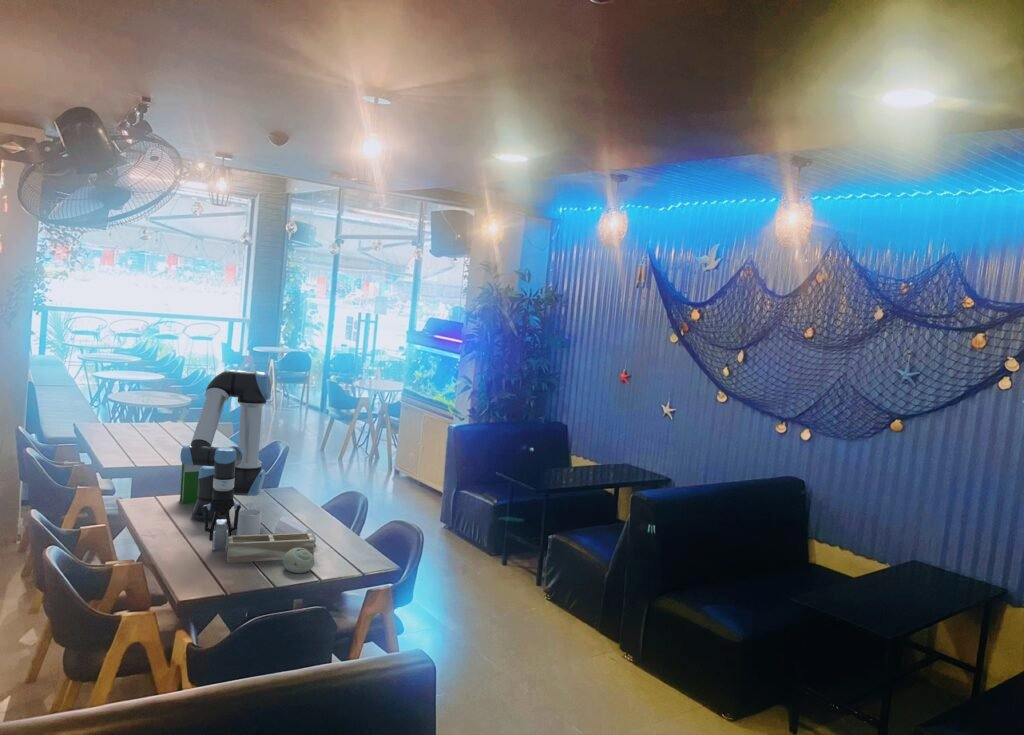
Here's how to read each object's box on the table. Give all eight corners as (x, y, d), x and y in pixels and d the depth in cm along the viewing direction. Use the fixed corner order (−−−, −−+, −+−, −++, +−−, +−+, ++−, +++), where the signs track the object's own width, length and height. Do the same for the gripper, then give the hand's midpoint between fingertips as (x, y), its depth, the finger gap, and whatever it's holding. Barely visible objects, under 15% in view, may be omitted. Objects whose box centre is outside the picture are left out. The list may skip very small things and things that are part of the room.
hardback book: (182, 504, 328) (186, 452, 326) (179, 500, 334) (182, 448, 332) (223, 501, 338) (227, 451, 336) (220, 497, 344) (223, 447, 342)
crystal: (268, 523, 301) (298, 540, 285) (282, 513, 306) (312, 529, 289) (275, 537, 305) (305, 554, 288) (289, 526, 309) (319, 543, 292)
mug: (260, 542, 289) (262, 515, 289) (237, 543, 286) (239, 515, 285) (257, 532, 300) (259, 506, 299) (234, 533, 296) (236, 507, 295)
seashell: (319, 552, 264) (294, 553, 257) (316, 574, 264) (291, 575, 257) (303, 545, 274) (278, 545, 267) (299, 566, 273) (275, 567, 266)
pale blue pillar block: (213, 547, 279) (215, 519, 278) (225, 546, 280) (226, 519, 279) (214, 553, 273) (216, 524, 272) (225, 552, 275) (227, 524, 274)
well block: (226, 553, 274) (227, 535, 273) (309, 549, 286) (310, 532, 286) (227, 562, 265) (229, 544, 264) (313, 558, 278) (314, 540, 277)
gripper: (199, 491, 269) (195, 553, 271) (248, 490, 276) (244, 550, 278) (198, 486, 275) (195, 546, 277) (246, 485, 283) (242, 544, 284)
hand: (219, 548), depth 278 cm, fingers closed on pale blue pillar block, 4 cm apart
